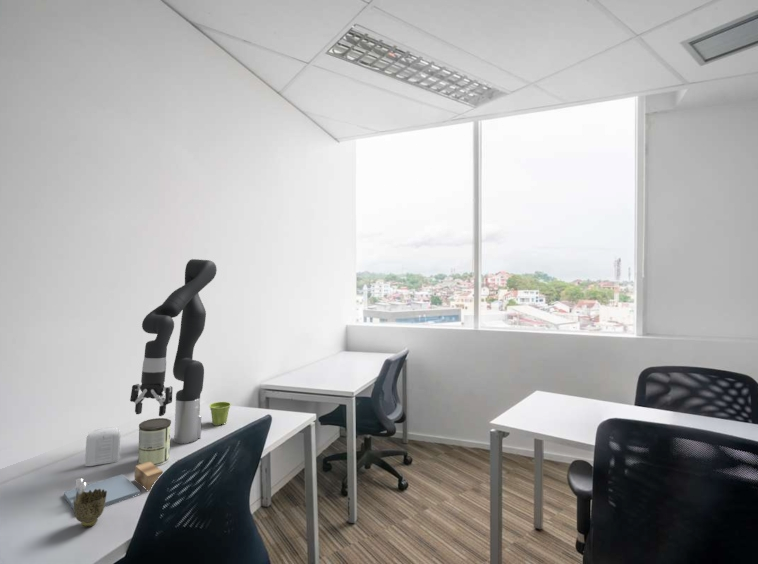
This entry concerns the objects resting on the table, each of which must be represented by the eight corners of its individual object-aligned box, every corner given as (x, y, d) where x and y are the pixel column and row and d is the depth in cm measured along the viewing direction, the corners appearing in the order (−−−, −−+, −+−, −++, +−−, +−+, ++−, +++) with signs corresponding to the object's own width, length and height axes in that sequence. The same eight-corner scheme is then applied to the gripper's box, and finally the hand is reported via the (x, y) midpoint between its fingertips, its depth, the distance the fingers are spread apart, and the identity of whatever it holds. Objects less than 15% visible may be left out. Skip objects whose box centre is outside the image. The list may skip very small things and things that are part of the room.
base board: (122, 477, 136) (122, 474, 136) (139, 494, 126) (140, 490, 126) (63, 495, 124) (63, 492, 124) (77, 516, 114) (78, 511, 114)
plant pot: (203, 425, 185) (204, 406, 185) (217, 418, 194) (218, 400, 194) (221, 428, 183) (221, 409, 183) (234, 421, 192) (235, 403, 192)
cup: (83, 516, 114) (84, 488, 114) (111, 516, 115) (112, 488, 115) (65, 533, 107) (66, 502, 107) (95, 532, 107) (96, 502, 107)
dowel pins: (81, 494, 123) (82, 477, 123) (86, 500, 120) (87, 482, 120) (75, 496, 122) (75, 479, 122) (79, 502, 119) (80, 484, 119)
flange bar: (134, 480, 135) (135, 465, 135) (149, 476, 138) (149, 461, 138) (147, 491, 129) (147, 476, 128) (162, 486, 132) (162, 471, 132)
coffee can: (134, 460, 149) (135, 421, 149) (164, 452, 156) (165, 416, 156) (142, 470, 142) (143, 430, 141) (173, 462, 149) (175, 423, 149)
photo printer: (119, 457, 150) (120, 424, 150) (119, 462, 147) (121, 428, 147) (85, 463, 145) (86, 428, 145) (84, 468, 141) (85, 432, 141)
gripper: (178, 369, 151) (174, 413, 150) (141, 366, 152) (137, 410, 151) (167, 372, 144) (162, 419, 143) (128, 369, 145) (124, 416, 144)
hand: (149, 414), depth 147 cm, fingers open, 8 cm apart
